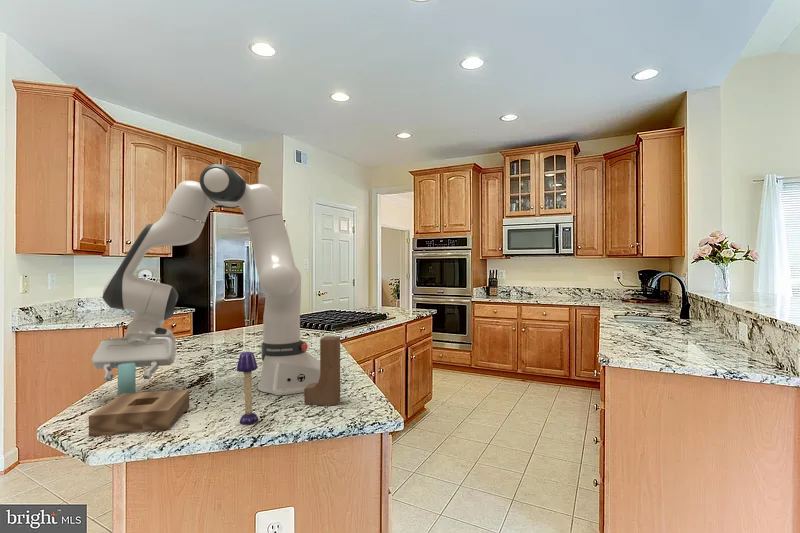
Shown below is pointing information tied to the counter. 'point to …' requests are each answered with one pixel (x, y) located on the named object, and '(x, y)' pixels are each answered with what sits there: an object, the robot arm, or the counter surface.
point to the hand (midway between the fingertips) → (127, 379)
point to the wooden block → (326, 375)
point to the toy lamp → (247, 385)
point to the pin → (126, 378)
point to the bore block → (139, 412)
